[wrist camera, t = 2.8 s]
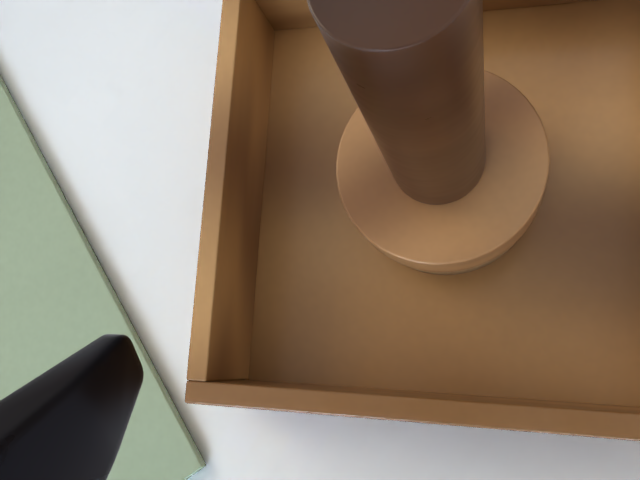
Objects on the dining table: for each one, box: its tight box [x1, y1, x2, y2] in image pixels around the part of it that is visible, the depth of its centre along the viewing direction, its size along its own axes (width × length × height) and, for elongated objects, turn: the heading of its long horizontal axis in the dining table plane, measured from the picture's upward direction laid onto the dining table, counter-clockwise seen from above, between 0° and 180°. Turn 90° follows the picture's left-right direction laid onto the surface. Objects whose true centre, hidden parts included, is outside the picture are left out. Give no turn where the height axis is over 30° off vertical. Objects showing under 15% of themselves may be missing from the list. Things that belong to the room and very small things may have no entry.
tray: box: [185, 0, 640, 441], centre depth 20 cm, size 15×15×4 cm
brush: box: [307, 0, 550, 275], centre depth 16 cm, size 6×6×13 cm
